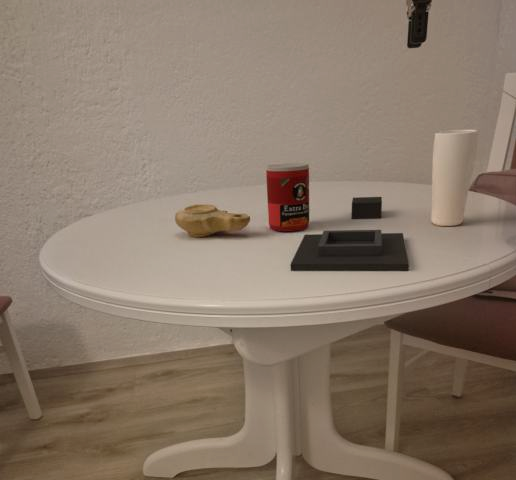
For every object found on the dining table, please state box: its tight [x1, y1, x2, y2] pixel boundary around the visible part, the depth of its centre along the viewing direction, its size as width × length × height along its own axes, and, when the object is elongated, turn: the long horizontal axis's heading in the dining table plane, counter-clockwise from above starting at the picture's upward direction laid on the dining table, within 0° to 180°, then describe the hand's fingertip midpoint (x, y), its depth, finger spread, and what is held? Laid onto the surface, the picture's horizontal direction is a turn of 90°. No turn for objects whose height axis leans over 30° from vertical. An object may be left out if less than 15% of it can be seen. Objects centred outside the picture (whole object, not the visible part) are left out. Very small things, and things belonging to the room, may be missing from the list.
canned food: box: [265, 162, 310, 232], centre depth 88 cm, size 8×8×11 cm
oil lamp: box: [174, 204, 251, 238], centre depth 89 cm, size 11×14×5 cm
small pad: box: [351, 196, 383, 220], centre depth 95 cm, size 6×6×3 cm
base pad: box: [290, 229, 410, 272], centre depth 73 cm, size 16×16×2 cm
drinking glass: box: [430, 129, 479, 227], centre depth 82 cm, size 7×7×15 cm
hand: (415, 45), depth 74 cm, fingers open, 8 cm apart
